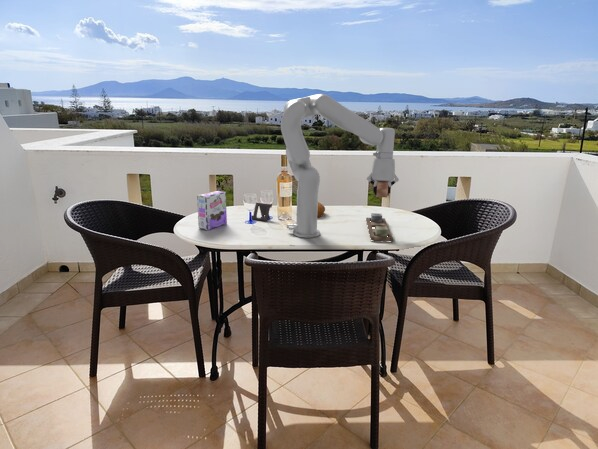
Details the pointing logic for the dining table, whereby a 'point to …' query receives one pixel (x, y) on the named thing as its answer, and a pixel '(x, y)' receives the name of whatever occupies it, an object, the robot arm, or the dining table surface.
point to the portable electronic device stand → (262, 211)
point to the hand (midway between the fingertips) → (381, 194)
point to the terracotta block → (382, 189)
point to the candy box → (212, 210)
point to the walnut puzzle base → (378, 228)
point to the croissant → (320, 210)
